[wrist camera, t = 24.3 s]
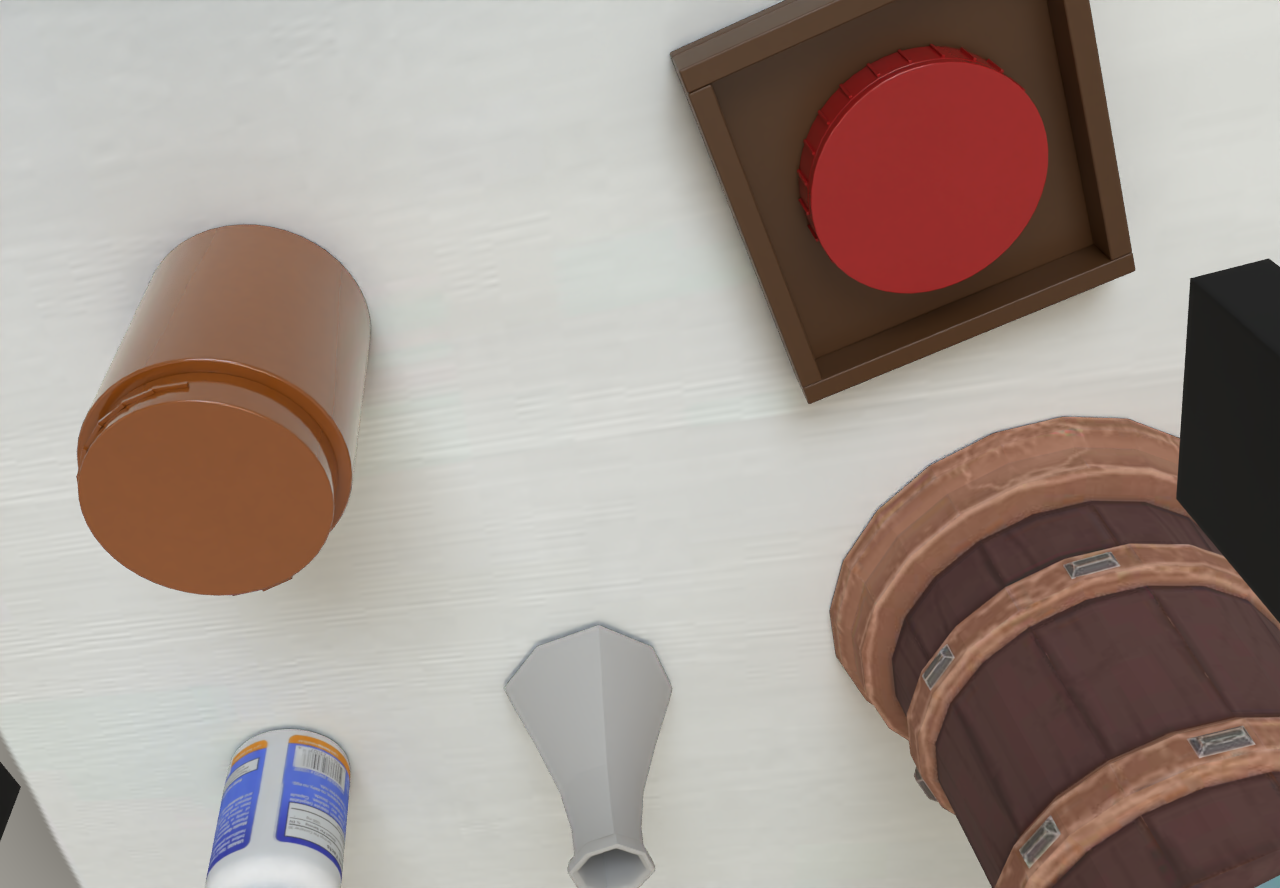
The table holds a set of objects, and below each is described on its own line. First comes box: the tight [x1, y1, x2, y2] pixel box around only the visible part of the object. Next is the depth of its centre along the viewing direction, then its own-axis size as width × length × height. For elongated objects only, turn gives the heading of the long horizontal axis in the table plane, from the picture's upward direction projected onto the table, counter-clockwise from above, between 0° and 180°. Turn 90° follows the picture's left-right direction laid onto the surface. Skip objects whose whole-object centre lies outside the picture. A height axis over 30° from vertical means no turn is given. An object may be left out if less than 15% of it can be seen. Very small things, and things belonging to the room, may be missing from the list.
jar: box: [76, 225, 371, 596], centre depth 37 cm, size 8×8×10 cm
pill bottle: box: [205, 729, 350, 888], centre depth 50 cm, size 5×5×10 cm
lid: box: [797, 44, 1048, 293], centre depth 40 cm, size 8×8×2 cm
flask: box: [504, 625, 672, 888], centre depth 49 cm, size 7×7×10 cm
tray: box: [670, 0, 1135, 404], centre depth 40 cm, size 14×13×2 cm
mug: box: [830, 417, 1280, 888], centre depth 46 cm, size 18×23×20 cm
